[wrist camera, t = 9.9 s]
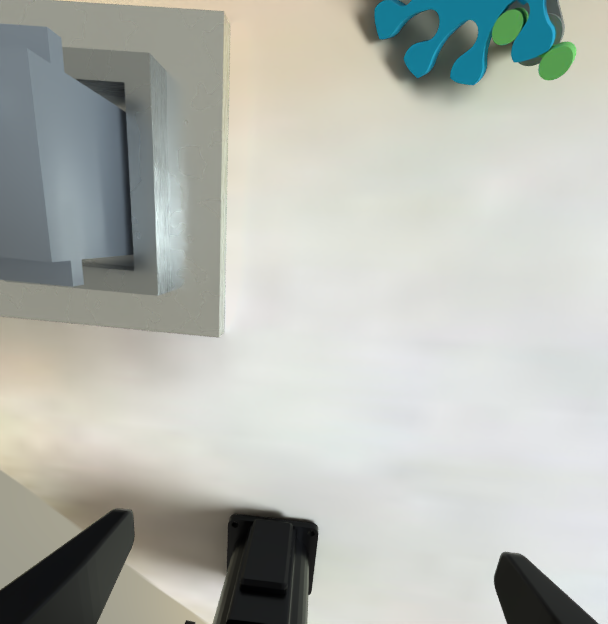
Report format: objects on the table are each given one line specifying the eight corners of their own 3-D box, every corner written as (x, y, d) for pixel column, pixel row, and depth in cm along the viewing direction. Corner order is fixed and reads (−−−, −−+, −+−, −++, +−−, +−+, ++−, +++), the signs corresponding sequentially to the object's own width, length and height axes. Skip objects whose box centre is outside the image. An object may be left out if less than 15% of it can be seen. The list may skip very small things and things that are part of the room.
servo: (137, 273, 17) (36, 294, 11) (62, 266, 17) (-78, 283, 11) (128, 89, 15) (-4, -12, 9) (42, 82, 15) (-146, -22, 9)
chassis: (224, 332, 19) (209, 346, 16) (7, 311, 19) (-37, 322, 17) (230, 25, 15) (212, -15, 13) (-41, 8, 15) (-109, -35, 13)
